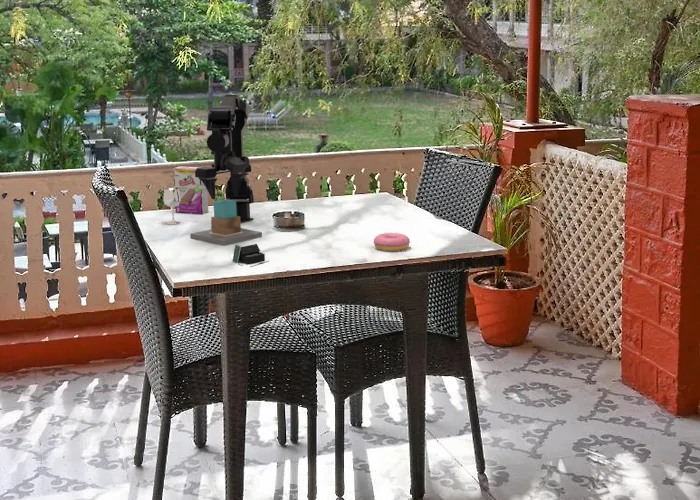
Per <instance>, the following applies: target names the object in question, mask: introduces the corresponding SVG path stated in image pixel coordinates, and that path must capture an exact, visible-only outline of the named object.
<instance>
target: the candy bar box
mask: <svg viewBox="0 0 700 500" xmlns="http://www.w3.org/2000/svg"><path fill="white" fill-rule="evenodd" d="M197 168H201V167H195V166H184V165H183V166H181V165H180V166H176V167H173V169H172V170H173V183H174V184H173V186H174V188H179V191H180V195H181V202H180V204H179V205H178V206H176V207H174V211H175V213H178V214H179V213H181V214H190V213H192V214H191V215H194V214H195V215H204V213H205V214H207V213H209V198H208V196H209V195H208V194H209V192H208V190H207V189H206V187H205V185H204V184H203V182H202V180H200V179H199V178H198V177H195V170H196V169H197Z"/></svg>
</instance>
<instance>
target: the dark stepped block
mask: <svg viewBox="0 0 700 500" xmlns="http://www.w3.org/2000/svg"><path fill="white" fill-rule="evenodd" d="M265 256H266V255H265V253H263V252H261V250H260V248H259V245H258V243H253V244H250V245H249V244H248V245H245V246H241V245H238V244H234V249H233V253H232V254H231V261H232V263H235V264H237V265H238V266H241V267H243V266H244V265H243V264H246V265H248V264H249V265H251V266H249V268H253V267H255V266H258V265H264V264H265V263H268V262H270V260H268V261H267V260H266V257H265ZM239 261H240V263H239ZM256 263H257V264H256ZM252 264H254V265H252Z"/></svg>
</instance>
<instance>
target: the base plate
mask: <svg viewBox="0 0 700 500" xmlns="http://www.w3.org/2000/svg"><path fill="white" fill-rule="evenodd" d="M189 234H190V239H193V240H197V241H202V242H205V243H206V242H207V243H211V244H215V245H220V246H224V247H225V246H228V245H233V244H235V243H240V242H245V241H251V240H254V239H257V238H262V237H263V232H262V231H259V230H254V229H249V228H245V227H241V232H238V233H234V234H229V235H221V234H216V233H212V228H211V229H207V230H201V231H197V232H193V233H189Z"/></svg>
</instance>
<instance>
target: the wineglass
mask: <svg viewBox="0 0 700 500" xmlns="http://www.w3.org/2000/svg"><path fill="white" fill-rule="evenodd" d="M163 202H164V204H165V206H167V207H170V208H171V213H172V214H171V216H172V220H170V221H169V222H166V224H167V225H180V224H181V222H180V221H176V220H175V207H176V206H178V205H179V204H180V202H181V195H180V191H179V188H174V187H173V186H172V187H166V188H164V191H163Z"/></svg>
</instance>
